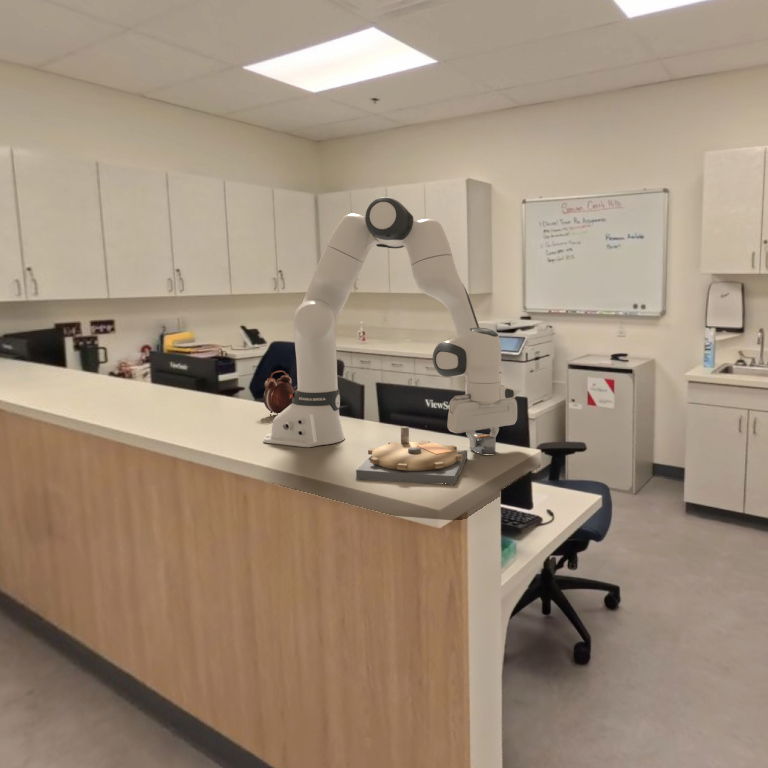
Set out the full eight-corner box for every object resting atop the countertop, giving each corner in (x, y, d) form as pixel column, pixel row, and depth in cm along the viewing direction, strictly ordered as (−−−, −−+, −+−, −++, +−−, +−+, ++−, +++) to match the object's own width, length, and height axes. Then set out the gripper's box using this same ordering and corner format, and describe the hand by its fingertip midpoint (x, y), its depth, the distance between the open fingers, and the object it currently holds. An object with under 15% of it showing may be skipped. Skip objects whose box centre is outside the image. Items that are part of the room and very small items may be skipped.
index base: (356, 478, 142) (356, 469, 142) (381, 453, 164) (381, 445, 163) (454, 485, 137) (454, 475, 137) (467, 458, 158) (467, 449, 158)
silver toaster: (498, 453, 162) (499, 437, 161) (486, 456, 160) (486, 439, 159) (478, 447, 168) (478, 431, 168) (466, 449, 166) (466, 433, 166)
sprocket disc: (353, 468, 143) (352, 444, 142) (383, 444, 164) (383, 423, 163) (452, 475, 136) (452, 450, 135) (470, 449, 157) (470, 427, 156)
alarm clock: (287, 411, 220) (285, 368, 218) (297, 413, 217) (295, 369, 215) (262, 417, 212) (260, 372, 209) (272, 418, 209) (270, 373, 206)
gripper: (457, 398, 154) (457, 454, 156) (521, 390, 164) (520, 442, 166) (442, 394, 159) (442, 448, 161) (505, 387, 169) (504, 437, 171)
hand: (482, 445), depth 164 cm, fingers closed on silver toaster, 4 cm apart
